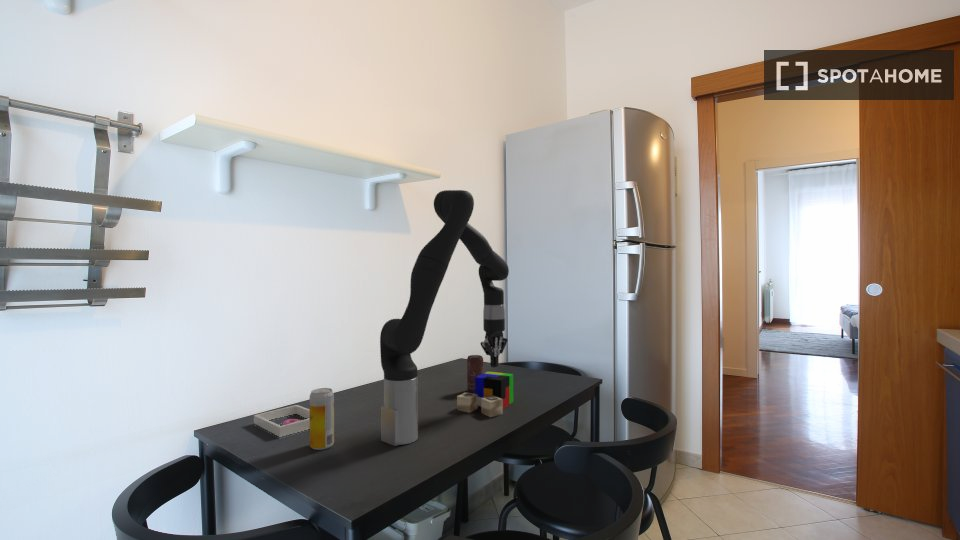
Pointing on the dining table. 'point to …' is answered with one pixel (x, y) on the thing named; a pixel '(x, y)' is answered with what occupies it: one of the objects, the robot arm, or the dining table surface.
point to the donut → (290, 421)
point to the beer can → (321, 418)
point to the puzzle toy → (495, 386)
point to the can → (473, 371)
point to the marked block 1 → (467, 402)
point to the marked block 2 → (492, 406)
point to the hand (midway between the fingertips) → (494, 366)
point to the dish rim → (285, 429)
